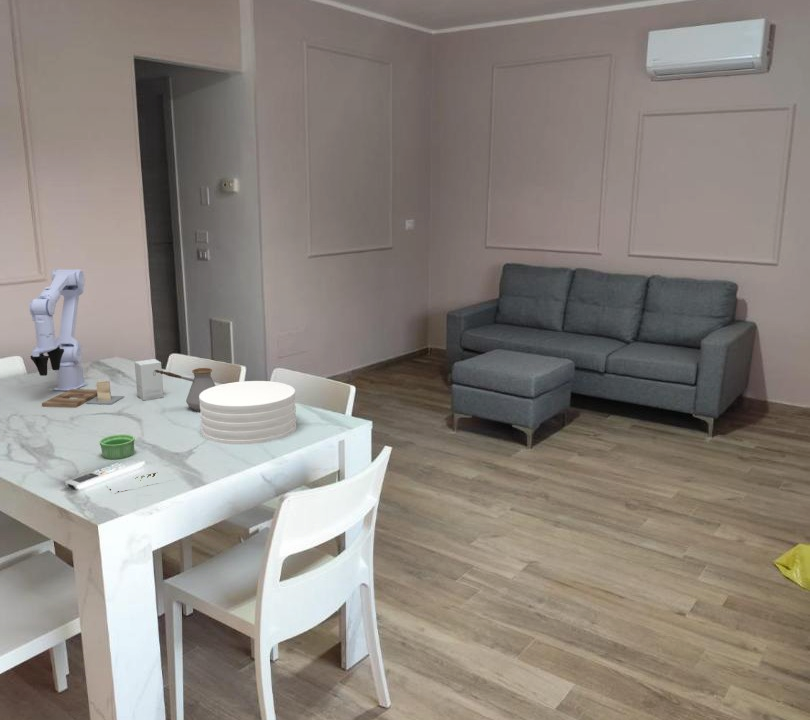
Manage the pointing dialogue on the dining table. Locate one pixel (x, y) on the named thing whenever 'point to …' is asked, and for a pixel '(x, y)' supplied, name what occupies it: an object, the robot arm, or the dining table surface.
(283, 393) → the plate stack
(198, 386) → the coffee pot
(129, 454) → the ramekin
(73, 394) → the walnut pocket board
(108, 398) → the beech block
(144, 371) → the supplement box
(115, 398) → the slate rubber mat
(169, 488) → the dining table surface
